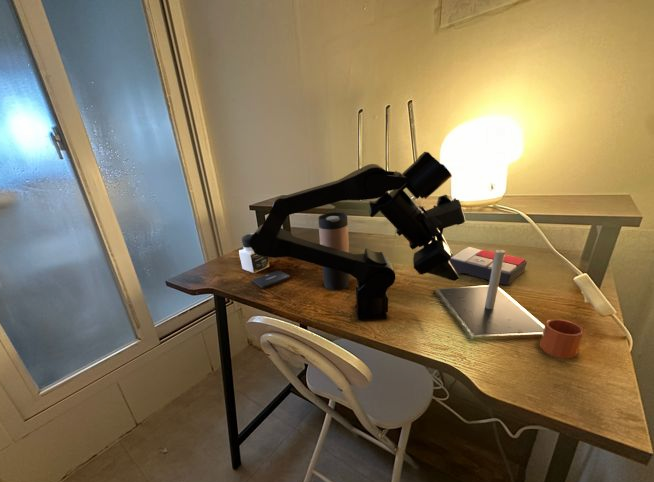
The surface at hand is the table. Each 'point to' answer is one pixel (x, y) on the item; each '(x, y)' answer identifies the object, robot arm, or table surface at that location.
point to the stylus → (494, 279)
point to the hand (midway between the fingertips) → (453, 267)
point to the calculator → (487, 264)
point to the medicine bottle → (251, 257)
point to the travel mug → (334, 246)
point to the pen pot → (561, 338)
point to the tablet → (489, 314)
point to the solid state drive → (270, 279)
